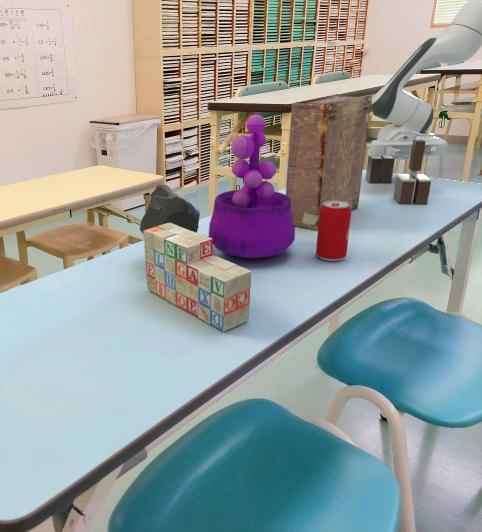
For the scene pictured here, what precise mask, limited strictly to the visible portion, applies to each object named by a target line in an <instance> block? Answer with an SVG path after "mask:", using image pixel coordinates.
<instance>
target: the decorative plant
mask: <svg viewBox="0 0 482 532" xmlns="http://www.w3.org/2000/svg"><path fill="white" fill-rule="evenodd" d="M266 126H267V123H266V120H265V118H264V117H263V116H262V115H260V114H252V115H250V116H249V117H248V118H247V120H246V122H245V128H246V130H247V132H249V133H250V134H249V135H245V134H241V135H240V136H237V137H236V138H235V139H234V140H232V143H231V145H230V150H231V153H232V155H233V156H234V157H235V158H237V160H235V161H234V162H233V163H232V165H231V172H232V174H233V175H234V176H235V178H239V179H240V178H243V182H244V185H243V186H241V188H240V189H235V190H228V191H225V192H221V193H219V194H217V196H215V198H214V203H213V210H212V214H211V218H210V221H209V226H208V237H209V238H212V239H213V247H215V248H216V249H217V250H218V251H219V252H221V253H224V254H226V255H230V256H235V257H239V258H245V259H260V258H268V257H272V256H276V255H279V254H281V253H284V252H286V250H287V249H289V248H290V247H291V246H292V244H293V243H294V242H295V240H296V228H295V227H296V226H294V223H293V218H292V210H291V200H290V198H289V197H288V196H286V193H282V192H279V191H275V187H274V185H273V183H271V182H269V181H268V180H272V179H273V177H274V176H275V175H276V174H277V170H278V169H277V166H276V164H275V163H274V162H272V161H270V160H266V161H262V162H261V163H260V148H262V147H264V146H265V145H266V143H267V138H266V135H265V133H264V132H263V131H264V130H265V128H266ZM246 159H249V162H248V161H247V160H246Z"/></svg>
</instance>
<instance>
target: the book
mask: <svg viewBox="0 0 482 532" xmlns="http://www.w3.org/2000/svg"><path fill="white" fill-rule="evenodd" d="M372 98H373V97H372V94H367V95H361V96H343V95H342V96H341V95H339V93H335V94H330V95H325V96H320V97H315V98H311V99H306V100H302V101H296V102H293V103H292V104H291V113H290V127H289V142H288V157H287V170H286V184H285V195H286V196H288V197H289V198H290V200H291V210H292V218H293V223H294V227H299V228H304V229H307V230H315V231H318V223H319V212H320V208H321V207H322V205H323V202H325V201H329V200H339V201H345V202H348V203H349V206H350V209H351V212H352V210H353V211H354V210H356V209H358V208H359V203H360V194H361V185H362V177H363V171H364V162H365V154H366V147H367V146H366V145H367V136H368V129H369V121H370V114H371V113H370V112H371V102H372ZM357 207H358V208H357Z"/></svg>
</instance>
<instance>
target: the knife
mask: <svg viewBox="0 0 482 532" xmlns="http://www.w3.org/2000/svg"><path fill="white" fill-rule="evenodd" d="M425 142H426V141H424V140H413V143H412V149H411V156H410V158H409V162H408V169H409V170H410V172H409V175H410V176H411V177H413V178H414V179H415V184H414V190H413V196H412V202H411V204H414V202H413V198H414V192H415V186H416V180H417V174H419V172H421V171H422V166H423V165H422V164H423V160H424V156H423V154H424V148H425Z"/></svg>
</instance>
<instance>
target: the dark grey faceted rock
mask: <svg viewBox="0 0 482 532" xmlns="http://www.w3.org/2000/svg"><path fill="white" fill-rule="evenodd" d="M147 195H148V196H149V197H150V199H149V201H148V202H149V203H148V206H147V209H146V211H145V213H144V215H143V217H142V218H141V221H140V225H139V231H140V232H141V234H142V235H143V236H144V232H143V231H144V230H147V229H150V228H153V227H157V226H159V225H163V224H166V223H172V224H175V225H177V226H179V227H182V228H185V229H187V230H190V231H193V232H196V233H198V230H199V226H200V225H199V222H200V215H201V210H200V209H199V208H197V206H195V205H193V203H191V202H190V201H189V200H187V199H186V198H182V197H180V196H179V195H178V194H177V193H176V192H174V191H173V189H172V188H171V187H170V186H169V185H167V184H159V185H157V186H156V188H155V189H154V190H153V191H152V192H151V193H147Z"/></svg>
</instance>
